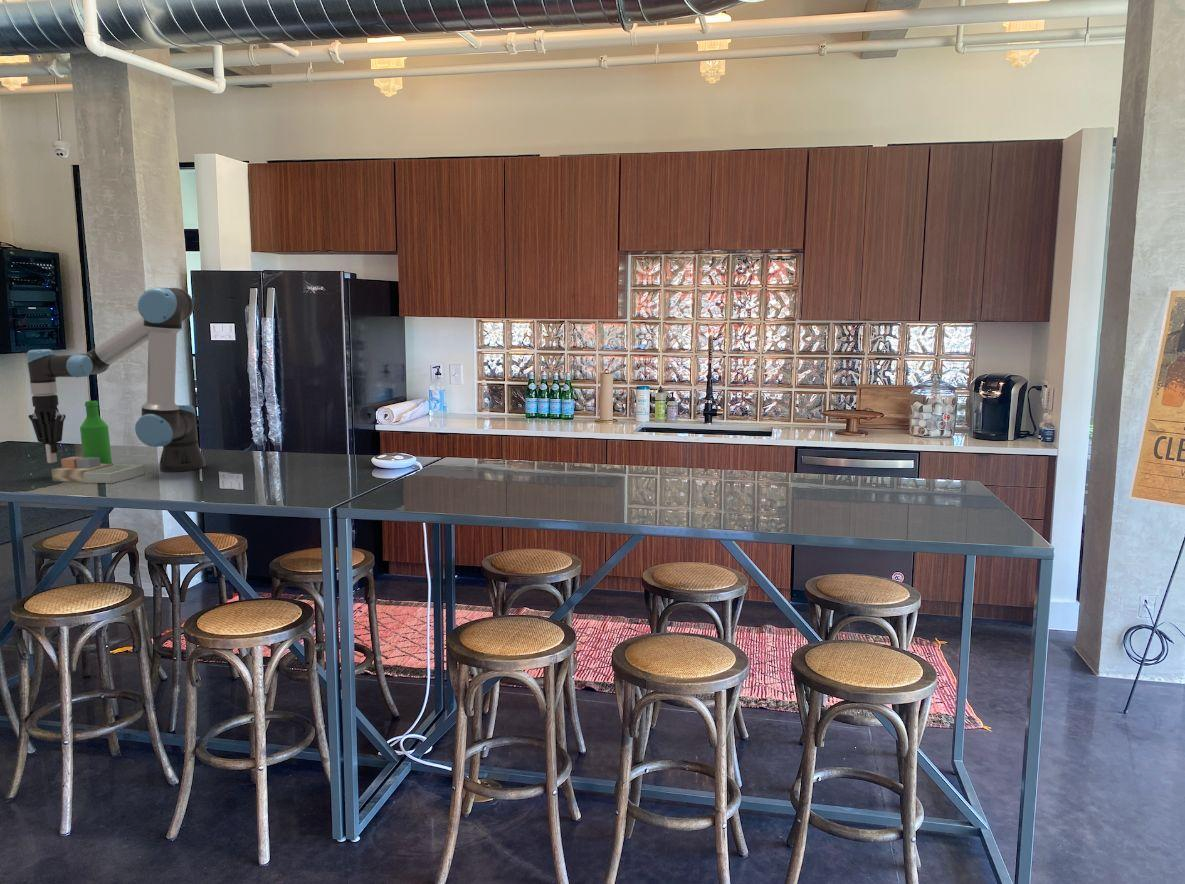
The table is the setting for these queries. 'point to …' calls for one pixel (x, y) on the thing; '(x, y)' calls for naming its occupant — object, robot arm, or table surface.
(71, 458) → the tile terracotta
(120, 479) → the box
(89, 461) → the tile slate
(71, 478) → the bench plate
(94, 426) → the bottle
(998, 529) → the table surface
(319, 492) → the table surface
